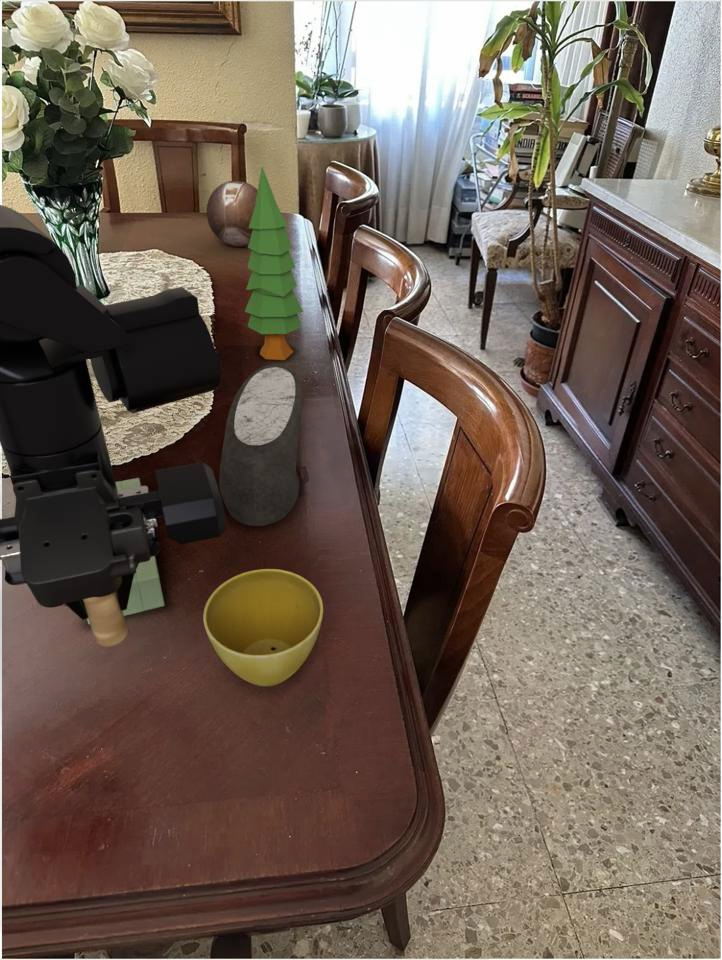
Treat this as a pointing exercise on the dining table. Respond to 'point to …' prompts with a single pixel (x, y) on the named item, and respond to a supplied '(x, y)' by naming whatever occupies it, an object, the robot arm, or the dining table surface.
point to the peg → (106, 619)
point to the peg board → (142, 576)
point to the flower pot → (264, 624)
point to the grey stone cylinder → (262, 447)
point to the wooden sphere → (232, 212)
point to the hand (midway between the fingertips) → (104, 610)
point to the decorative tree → (271, 276)
